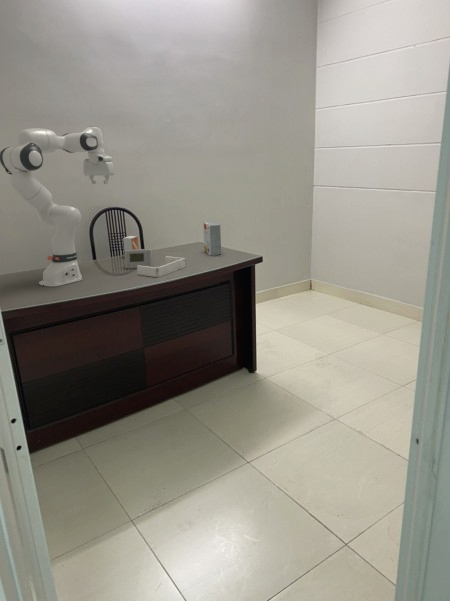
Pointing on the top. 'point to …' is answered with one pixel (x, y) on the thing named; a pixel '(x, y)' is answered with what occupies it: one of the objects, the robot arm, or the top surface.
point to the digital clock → (138, 258)
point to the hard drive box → (212, 238)
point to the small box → (130, 243)
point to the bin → (163, 267)
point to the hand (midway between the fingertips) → (99, 184)
